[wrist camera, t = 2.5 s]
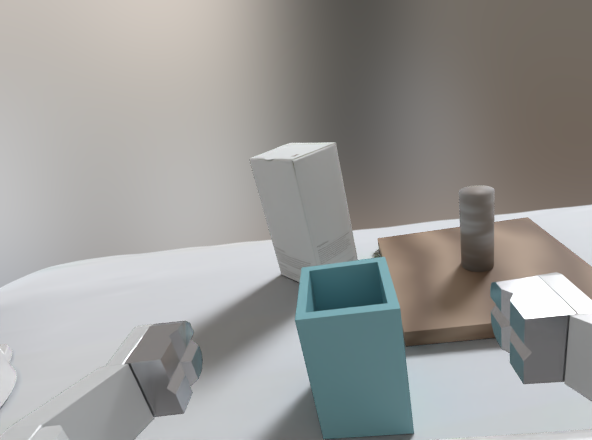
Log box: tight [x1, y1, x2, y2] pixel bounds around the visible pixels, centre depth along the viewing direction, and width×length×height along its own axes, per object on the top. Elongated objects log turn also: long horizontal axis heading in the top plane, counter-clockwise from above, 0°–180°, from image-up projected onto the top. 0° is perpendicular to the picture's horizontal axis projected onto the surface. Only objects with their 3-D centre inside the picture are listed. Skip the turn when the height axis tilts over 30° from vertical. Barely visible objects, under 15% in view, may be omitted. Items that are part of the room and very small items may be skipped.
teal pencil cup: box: [295, 257, 414, 439], centre depth 26 cm, size 6×6×10 cm
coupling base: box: [378, 185, 592, 346], centre depth 37 cm, size 18×18×10 cm
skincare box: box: [249, 143, 358, 283], centre depth 43 cm, size 8×7×16 cm
